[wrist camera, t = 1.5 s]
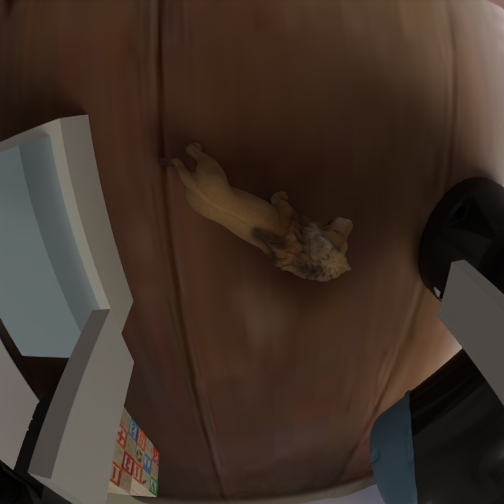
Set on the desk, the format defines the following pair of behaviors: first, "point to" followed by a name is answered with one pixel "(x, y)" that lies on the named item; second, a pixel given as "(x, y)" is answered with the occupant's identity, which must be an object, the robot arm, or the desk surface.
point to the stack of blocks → (133, 461)
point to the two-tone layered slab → (55, 239)
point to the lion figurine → (265, 220)
